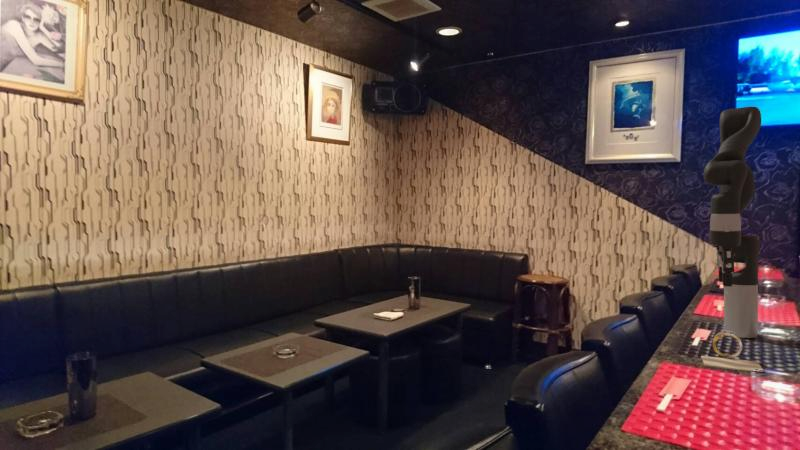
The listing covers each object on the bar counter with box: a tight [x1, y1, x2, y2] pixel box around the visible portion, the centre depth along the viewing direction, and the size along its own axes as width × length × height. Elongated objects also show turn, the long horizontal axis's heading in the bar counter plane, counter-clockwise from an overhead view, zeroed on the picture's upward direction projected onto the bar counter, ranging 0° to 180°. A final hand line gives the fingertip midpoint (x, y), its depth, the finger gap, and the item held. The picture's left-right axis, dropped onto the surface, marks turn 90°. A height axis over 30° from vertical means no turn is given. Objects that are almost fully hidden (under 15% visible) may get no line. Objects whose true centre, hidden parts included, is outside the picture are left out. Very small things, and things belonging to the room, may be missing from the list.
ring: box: [712, 329, 743, 359], centre depth 136 cm, size 7×3×8 cm, turn 54°
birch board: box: [700, 355, 764, 373], centre depth 130 cm, size 9×13×1 cm
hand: (725, 283), depth 142 cm, fingers open, 8 cm apart
